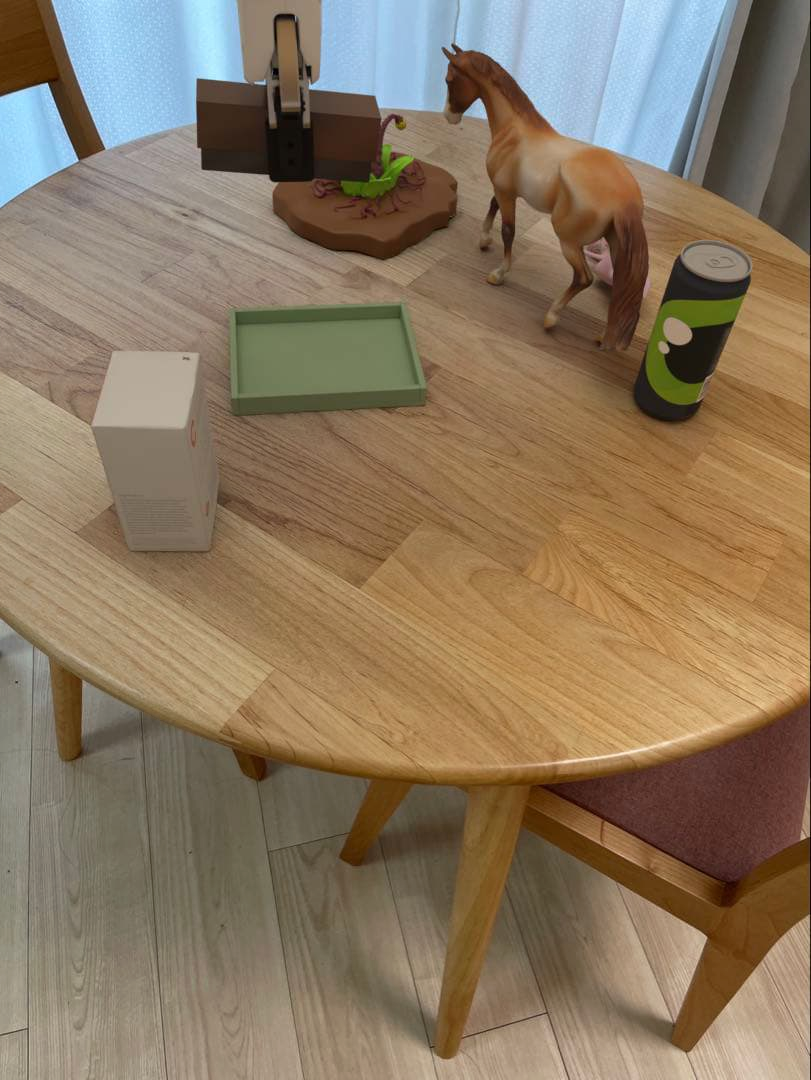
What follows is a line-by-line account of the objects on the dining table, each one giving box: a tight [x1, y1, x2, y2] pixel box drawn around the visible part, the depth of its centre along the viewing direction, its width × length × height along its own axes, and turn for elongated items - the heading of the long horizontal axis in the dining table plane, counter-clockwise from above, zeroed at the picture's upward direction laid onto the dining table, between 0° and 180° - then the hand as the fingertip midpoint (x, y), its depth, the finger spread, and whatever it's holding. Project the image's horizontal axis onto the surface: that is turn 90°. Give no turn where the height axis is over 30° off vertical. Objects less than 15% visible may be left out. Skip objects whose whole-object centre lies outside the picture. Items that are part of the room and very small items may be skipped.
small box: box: [90, 350, 221, 552], centre depth 65 cm, size 8×6×13 cm
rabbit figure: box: [583, 237, 652, 299], centre depth 92 cm, size 6×6×15 cm
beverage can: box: [633, 239, 754, 421], centre depth 76 cm, size 6×6×15 cm
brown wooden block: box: [195, 77, 382, 183], centre depth 62 cm, size 12×4×5 cm, turn 98°
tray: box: [228, 301, 428, 416], centre depth 82 cm, size 17×13×2 cm
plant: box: [271, 113, 459, 261], centre depth 97 cm, size 20×20×11 cm
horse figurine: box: [441, 42, 650, 353], centre depth 83 cm, size 31×8×21 cm, turn 32°
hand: (290, 162), depth 64 cm, fingers closed on brown wooden block, 3 cm apart
